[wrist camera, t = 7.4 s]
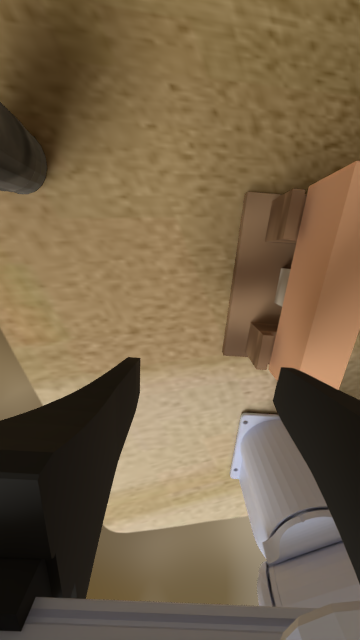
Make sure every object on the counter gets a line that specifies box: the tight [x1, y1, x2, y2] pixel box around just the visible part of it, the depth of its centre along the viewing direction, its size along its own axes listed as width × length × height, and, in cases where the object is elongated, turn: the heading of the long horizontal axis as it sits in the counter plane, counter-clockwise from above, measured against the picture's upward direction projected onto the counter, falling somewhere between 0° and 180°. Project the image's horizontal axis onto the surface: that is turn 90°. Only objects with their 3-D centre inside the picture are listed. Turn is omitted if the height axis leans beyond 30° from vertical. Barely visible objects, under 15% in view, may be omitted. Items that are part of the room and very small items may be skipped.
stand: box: [222, 189, 307, 370], centre depth 17 cm, size 14×10×4 cm
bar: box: [269, 161, 360, 390], centre depth 14 cm, size 14×3×4 cm, turn 176°
